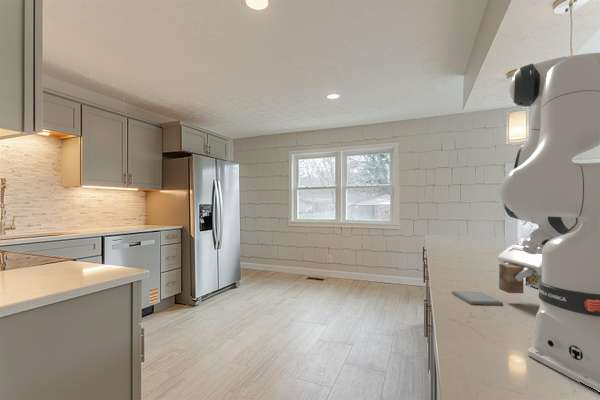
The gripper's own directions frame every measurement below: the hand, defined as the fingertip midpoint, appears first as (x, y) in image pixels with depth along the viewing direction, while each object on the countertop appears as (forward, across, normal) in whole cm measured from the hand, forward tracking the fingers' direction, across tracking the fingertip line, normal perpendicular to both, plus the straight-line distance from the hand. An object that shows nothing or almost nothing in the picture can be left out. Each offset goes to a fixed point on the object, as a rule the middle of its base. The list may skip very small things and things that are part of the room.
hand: (509, 277), depth 94 cm
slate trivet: (+12, -2, -1) cm, 12 cm away
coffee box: (-12, -18, +23) cm, 31 cm away
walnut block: (+3, 0, +4) cm, 4 cm away
